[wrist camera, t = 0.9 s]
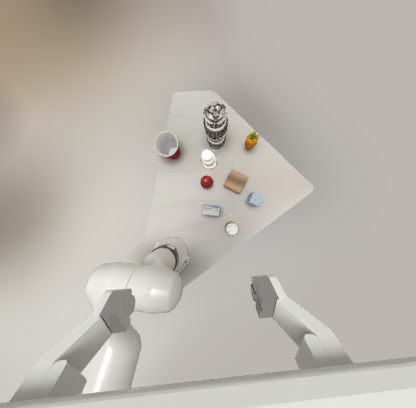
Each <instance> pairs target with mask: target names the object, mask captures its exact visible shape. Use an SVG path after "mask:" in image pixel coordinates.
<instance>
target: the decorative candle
mask: <svg viewBox="0 0 416 408" xmlns="http://www.w3.org/2000/svg"><path fill="white" fill-rule="evenodd" d="M203 113H204V122H203V124H204V127H205V130H206V134H207V141H208V145H209V147H210V149H212V150H213V151H219V150H221V149H223V147H224V145H225V140H226V135H225V134H226V131H227V130H226V129H227V124H228V122H227V121H228V119H227V109H226V107H225V106H224V105H223V104H222V103H219V102H212V103H210V104H208V105H207V106H206V107H205V109H204V112H203Z"/></svg>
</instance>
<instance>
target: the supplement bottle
mask: <svg viewBox="0 0 416 408" xmlns="http://www.w3.org/2000/svg"><path fill="white" fill-rule="evenodd" d="M225 228H226V231H227V233H228V234H229V235H235V234H236V233H237V232H238V226H237V225H236V224H235V223H234V222H228V223H227V224H226V227H225Z"/></svg>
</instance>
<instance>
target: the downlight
mask: <svg viewBox="0 0 416 408" xmlns="http://www.w3.org/2000/svg"><path fill="white" fill-rule="evenodd" d="M201 161H203V165H204V167H205V168H208V169H211V168H213V167H215V165H216V163H217V160H216V158H215V156H214V154H213V153H212V152H211V151H210V150H204V151H203V152H202V157H201Z"/></svg>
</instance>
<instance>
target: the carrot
mask: <svg viewBox="0 0 416 408" xmlns="http://www.w3.org/2000/svg"><path fill="white" fill-rule="evenodd" d="M259 136H260V135H256V132H255V131H254V133H252V132H251V133H250V134H249V135H248V136H247V139H246V142H245V147H246V149H251V148H253V147H254V146H255V145H256V143H257V140H258V137H259Z"/></svg>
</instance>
